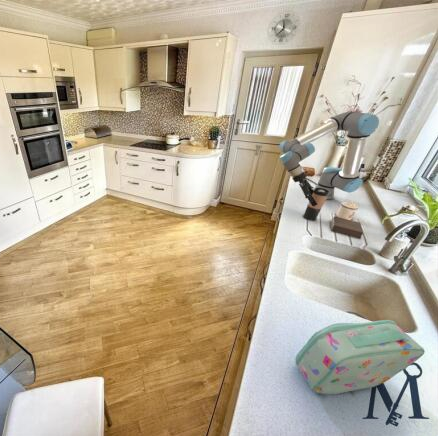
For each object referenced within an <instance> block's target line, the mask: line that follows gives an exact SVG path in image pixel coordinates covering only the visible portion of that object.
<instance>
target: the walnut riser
mask: <svg viewBox="0 0 438 436" xmlns="http://www.w3.org/2000/svg"><path fill="white" fill-rule="evenodd" d="M330 231H331V232H334V233H339V234H342V235H346V236H350V237H353V238H356V239H361V237H362V236H363V234H364V231H363V227H362V224H361V222H359V221H355V220H352V219H351V220H347V219H343V218H339V217H337V216H335V215H333V216H332V218H331V219H330Z"/></svg>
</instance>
